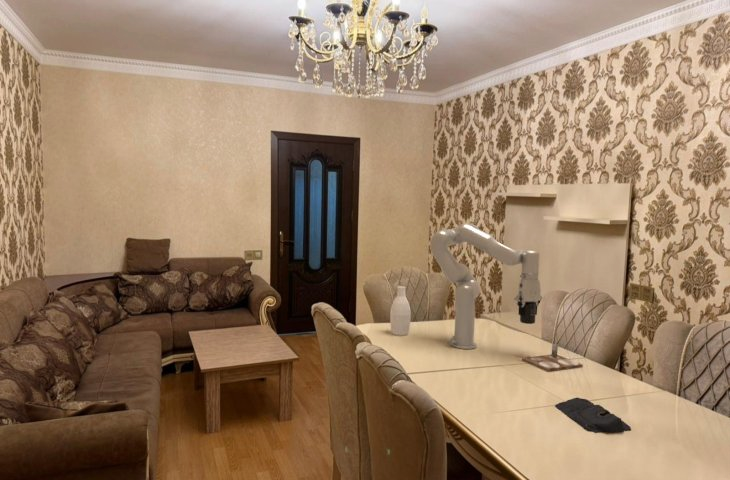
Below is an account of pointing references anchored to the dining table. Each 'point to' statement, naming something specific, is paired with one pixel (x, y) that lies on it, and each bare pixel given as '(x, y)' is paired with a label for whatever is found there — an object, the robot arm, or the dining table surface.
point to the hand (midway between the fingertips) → (527, 314)
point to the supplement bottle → (529, 313)
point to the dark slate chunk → (592, 416)
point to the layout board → (552, 361)
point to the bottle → (400, 313)
